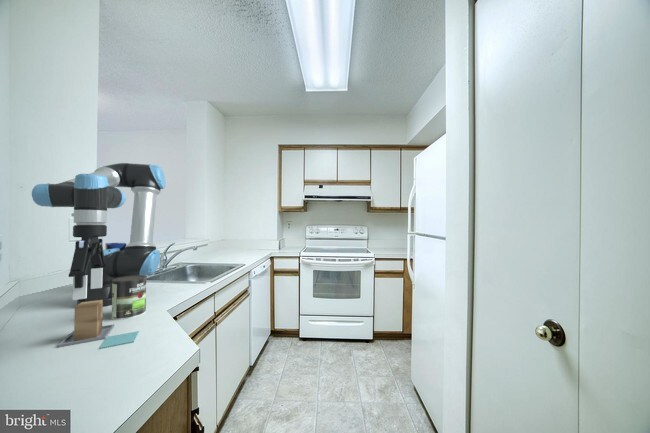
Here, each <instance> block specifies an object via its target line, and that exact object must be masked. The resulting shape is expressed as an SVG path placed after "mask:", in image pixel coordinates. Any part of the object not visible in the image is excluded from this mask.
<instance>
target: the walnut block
mask: <svg viewBox="0 0 650 433" xmlns="http://www.w3.org/2000/svg"><path fill="white" fill-rule="evenodd" d="M103 307H104V306H103V300H96V301H88V302H81V303H80V304H78V305H77V304H76V306H74V319H73V320H74V324H73V326H74V328H73V331H74V341H79V340H85V339H91V338H96V337H98V335H99V334H100V333H101V332H102V326H103Z"/></svg>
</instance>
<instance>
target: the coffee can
mask: <svg viewBox="0 0 650 433" xmlns="http://www.w3.org/2000/svg"><path fill="white" fill-rule="evenodd" d="M147 276H148V275H146V276H144V275H134V276H125V277H119V278H116V279H113V280H112V304H111V319H112V320H114V321H116V320H117V321H120V320H121V321H123V320H128V319H133V318H137V317H140V316H142V315H144V314H145V313H146V312H147V311H146V310H147V307H146V306H147Z"/></svg>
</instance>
